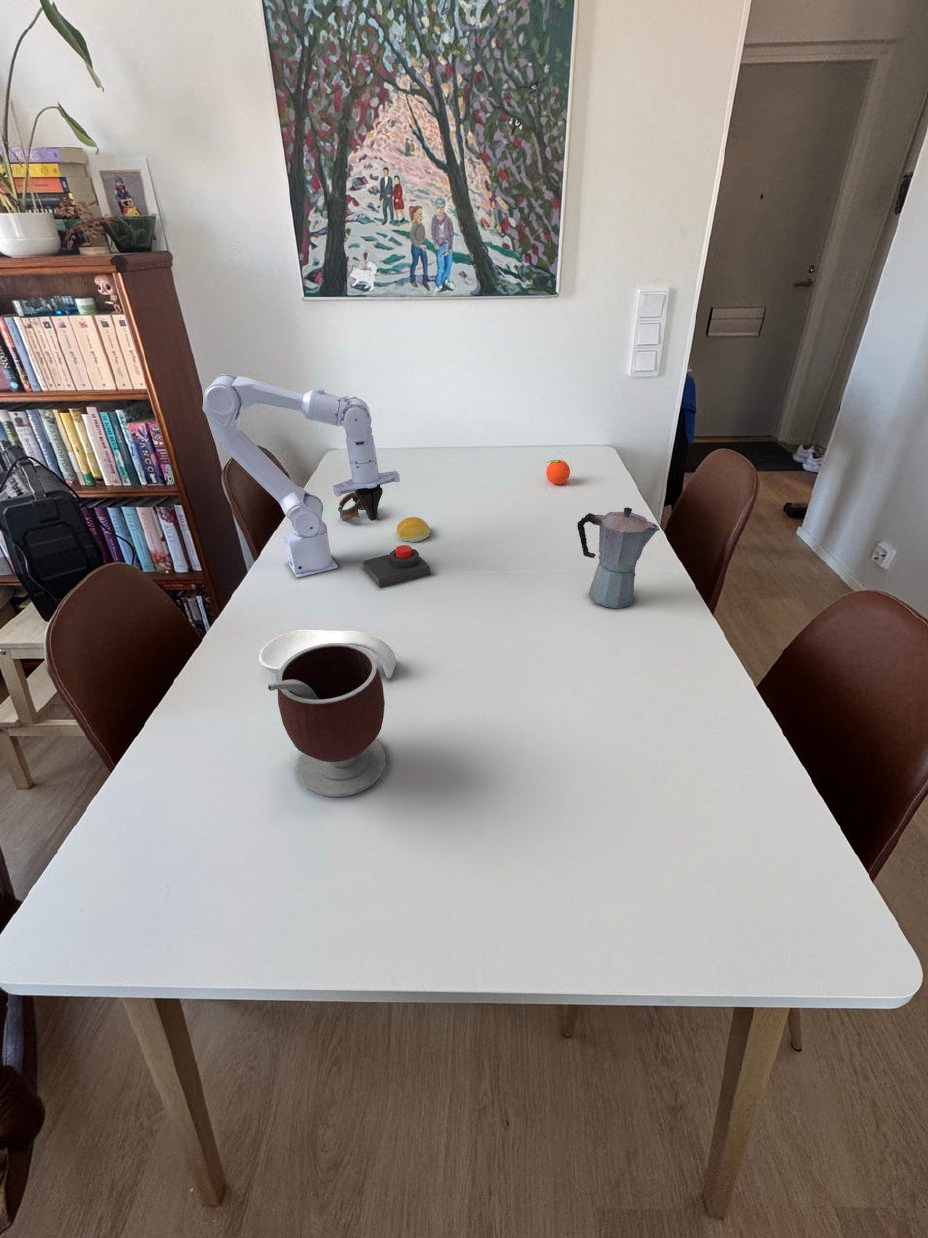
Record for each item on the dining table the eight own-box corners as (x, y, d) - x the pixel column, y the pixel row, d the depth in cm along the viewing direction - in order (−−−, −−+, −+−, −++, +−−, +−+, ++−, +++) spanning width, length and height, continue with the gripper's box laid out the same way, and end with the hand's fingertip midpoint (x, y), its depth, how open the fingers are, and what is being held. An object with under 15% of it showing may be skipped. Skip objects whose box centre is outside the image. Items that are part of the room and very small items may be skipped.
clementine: (539, 486, 183) (541, 462, 179) (544, 478, 189) (545, 454, 185) (567, 488, 181) (568, 464, 177) (570, 480, 187) (572, 456, 183)
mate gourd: (347, 719, 99) (330, 612, 89) (410, 758, 92) (401, 647, 81) (265, 776, 89) (235, 664, 79) (329, 826, 82) (305, 709, 71)
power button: (399, 560, 137) (399, 553, 136) (393, 554, 140) (392, 547, 139) (414, 557, 138) (414, 549, 138) (408, 550, 141) (407, 543, 140)
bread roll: (401, 545, 152) (399, 530, 150) (395, 530, 159) (393, 515, 157) (434, 540, 154) (433, 525, 151) (426, 526, 161) (425, 511, 159)
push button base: (379, 588, 134) (378, 572, 132) (363, 569, 142) (362, 553, 140) (430, 575, 139) (429, 559, 137) (412, 557, 146) (411, 541, 144)
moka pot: (648, 613, 124) (664, 520, 113) (569, 606, 127) (577, 514, 116) (646, 589, 132) (661, 500, 121) (572, 583, 135) (580, 495, 124)
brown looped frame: (382, 526, 163) (364, 503, 157) (351, 540, 165) (333, 519, 159) (381, 497, 171) (364, 475, 165) (351, 512, 173) (334, 491, 167)
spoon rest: (252, 684, 107) (243, 650, 103) (277, 645, 117) (270, 612, 113) (387, 692, 105) (383, 657, 101) (401, 651, 115) (398, 618, 111)
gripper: (335, 472, 127) (347, 533, 134) (401, 456, 132) (409, 516, 139) (325, 462, 132) (337, 522, 139) (389, 448, 137) (397, 506, 145)
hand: (372, 518), depth 140 cm, fingers closed
